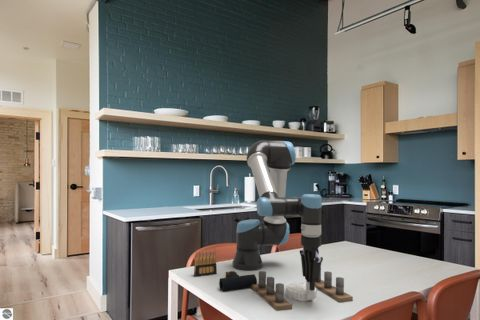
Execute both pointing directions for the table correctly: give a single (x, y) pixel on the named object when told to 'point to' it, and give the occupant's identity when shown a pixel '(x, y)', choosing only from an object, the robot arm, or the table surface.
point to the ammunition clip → (205, 264)
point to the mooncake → (298, 291)
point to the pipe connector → (236, 281)
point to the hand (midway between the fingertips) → (310, 297)
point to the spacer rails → (280, 303)
